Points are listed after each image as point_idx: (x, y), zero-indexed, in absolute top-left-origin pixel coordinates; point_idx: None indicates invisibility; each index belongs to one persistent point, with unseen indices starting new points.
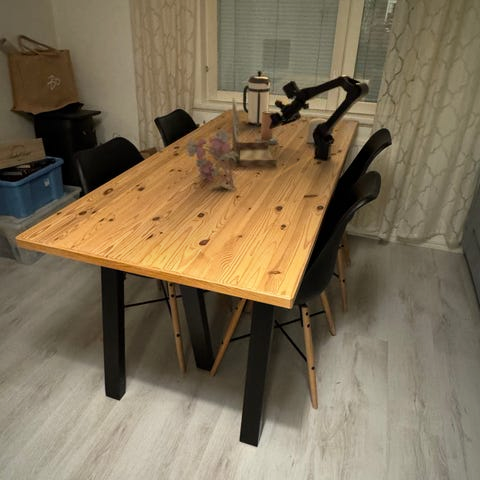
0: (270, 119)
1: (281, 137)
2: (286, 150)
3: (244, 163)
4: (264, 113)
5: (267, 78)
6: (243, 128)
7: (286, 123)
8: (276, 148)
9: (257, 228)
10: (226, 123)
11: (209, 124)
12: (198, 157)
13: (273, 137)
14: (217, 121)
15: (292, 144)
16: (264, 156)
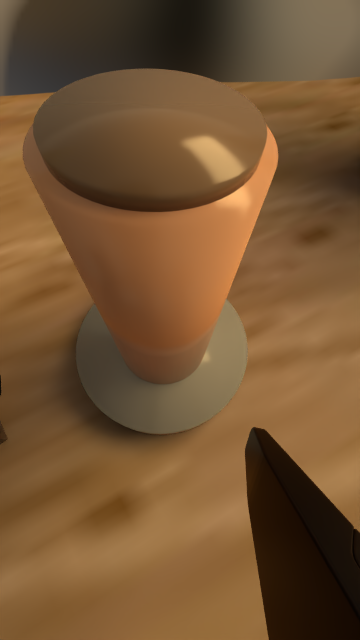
0: (99, 283)
1: (332, 382)
2: (30, 630)
3: None
4: (49, 111)
5: None
6: (303, 166)
7: (264, 586)
8: (56, 494)
9: None
10: (306, 109)
11: (249, 84)
12: None
13: (219, 369)
14: (301, 87)
15: (240, 574)
16: None
